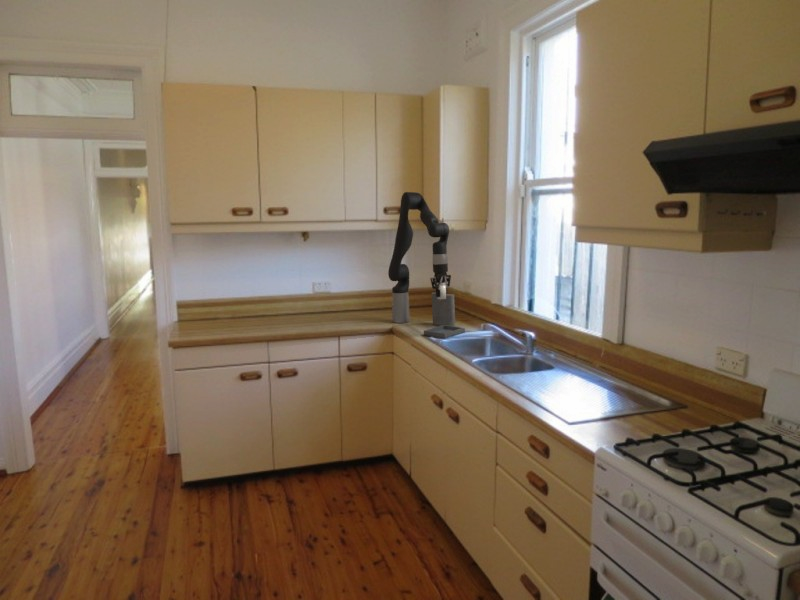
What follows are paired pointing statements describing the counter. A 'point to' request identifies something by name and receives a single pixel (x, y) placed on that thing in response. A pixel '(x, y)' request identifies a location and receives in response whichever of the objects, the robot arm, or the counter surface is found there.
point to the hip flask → (443, 310)
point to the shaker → (442, 291)
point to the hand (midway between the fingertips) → (441, 296)
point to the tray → (444, 331)
